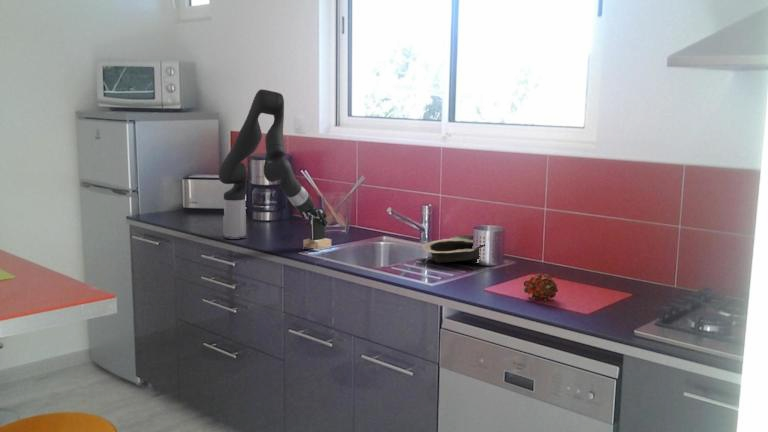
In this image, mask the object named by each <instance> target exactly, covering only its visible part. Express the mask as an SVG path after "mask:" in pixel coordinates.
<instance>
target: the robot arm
mask: <svg viewBox="0 0 768 432" xmlns="http://www.w3.org/2000/svg"><path fill="white" fill-rule="evenodd" d="M284 100H285V99H284V96H283V94H282V93H280V92H277V91H273V90H268V89H259V90H258V91H257V92H256V94H255V95H254V98H253V100H252V103H251V106H250V109H249V110H248V114H247V116H246V118H245V120H244V122H243V124H242V126H241V129H240V130H239V132H238V134H237V136H236V139H235V140H234V143H233V144H232V147H231V148H230V150H229V152H228V153H227V155H226V157H225V159H223V162H222V163H221V165H220V166H219V170H218V179H219V181H220V182H221V183H222V184H225V185H233V186H232V188H230V189H229V190H226V191H225V192H224V193H223V213H224V215H223V216H222V229H223V230H222V232H223V234H224V235H225V236H232V237H239V236H245V235H246V236H247V213H246V195H247V190H248V189H247V184H248V183H247V181H248V171H247V167H246V164H244V163H243V161H244V160H246V159H247V158H249V156H251V155H252V154H253V153H255V151H256V150H257V149H258V147H259V144H260V143H261V140H262V137H263V135H262V130H261V125H260V121H259V117H260V115H261V114H265V115H269V116H273V123H272V125H271V126H270V127H269V129H268V130H267V133H266V135H265V140H264V142H265V143H264V144H265V151H266V155H265V159H264V164H263V175H264V177H265V179H266V180H267V181H268V182H271V183H273V182H276V181H280V182H279V188H280V190H281V191H282V192H283V194H284V196H286V197H287V199H288V201H289V202H290V203H291V204H292V206H293V207H294V211H295V212H296V213H297V214H298V215H299V216H300V217H301V218H302V219H305V220H308V216H310V215H311V216H312V217H313V218H315V219H318V220H319V221H320V222H321V224H322V225H323V226H324V227H325V228H326V227H327V225H328V221H327V220H326V219H327V217H328V216H327V213H326V212H325V210H324V208H323V207H319V208H318V207H317V206H316V205H315V204H314V199H313V198H312V196H311V195H310V193H308V191H307V190H306V189H305V187H303V186H302V185H301V183H300V182H299V181H298V179H297V178H296V176H295V174H294V171H293V167H292V165H291V163H290V161H289V160H288V159H286V158H284V156H285V154H286V149H285V140H284V119H285V101H284ZM316 213H317V214H316ZM315 214H316V216H315ZM318 216H320V218H319V217H318Z"/></svg>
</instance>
